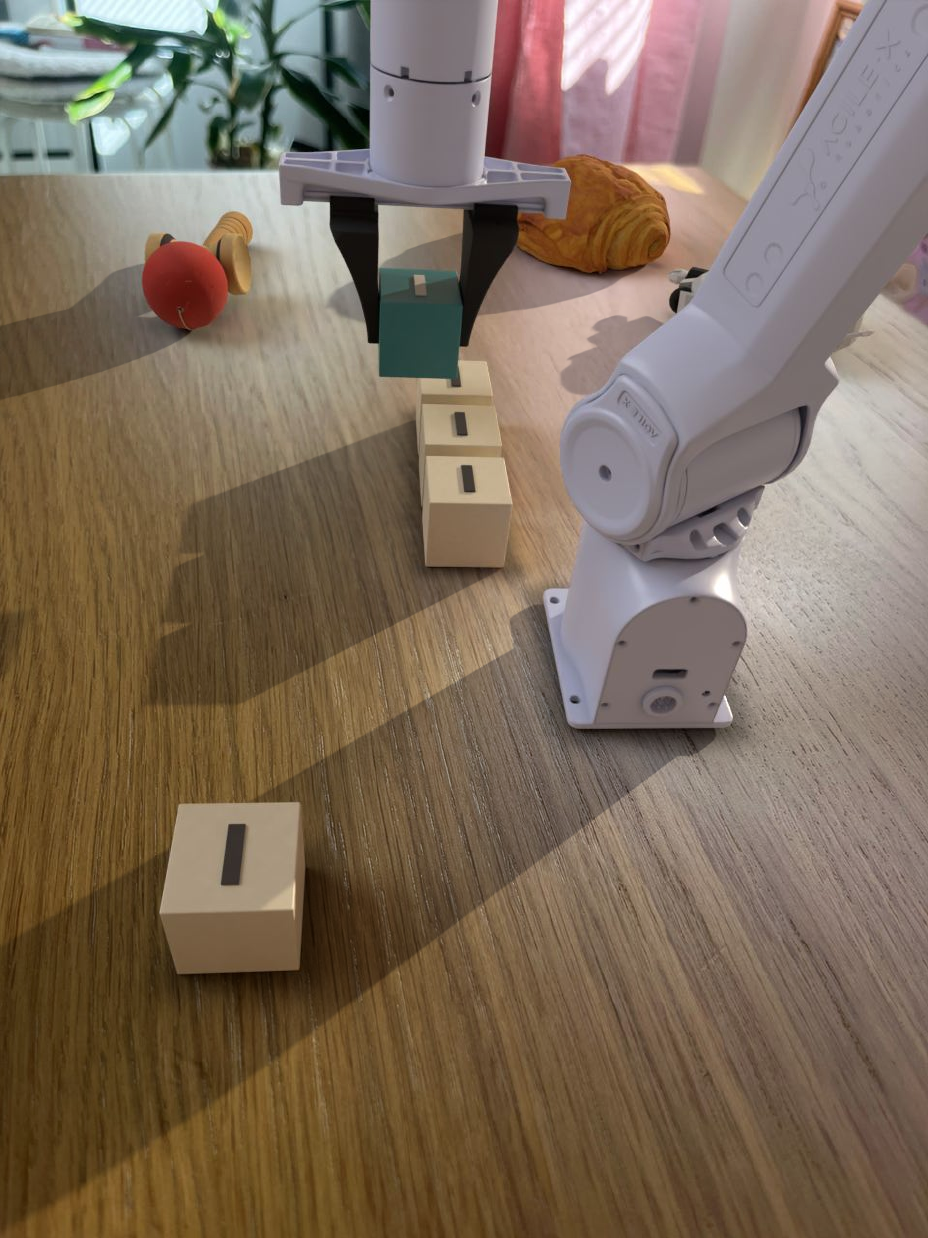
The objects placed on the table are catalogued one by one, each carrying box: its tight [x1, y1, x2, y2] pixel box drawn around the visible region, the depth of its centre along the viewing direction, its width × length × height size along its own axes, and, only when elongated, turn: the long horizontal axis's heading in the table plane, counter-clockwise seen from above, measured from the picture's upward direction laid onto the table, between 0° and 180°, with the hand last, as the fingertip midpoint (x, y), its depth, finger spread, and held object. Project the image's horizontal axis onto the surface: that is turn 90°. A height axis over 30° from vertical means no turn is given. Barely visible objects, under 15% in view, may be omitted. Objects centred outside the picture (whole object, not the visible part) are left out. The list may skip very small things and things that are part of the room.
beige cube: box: [421, 456, 513, 568], centre depth 52 cm, size 4×4×4 cm
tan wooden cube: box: [418, 404, 503, 508], centre depth 56 cm, size 4×4×4 cm
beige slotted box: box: [159, 801, 306, 975], centre depth 34 cm, size 4×4×4 cm
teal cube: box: [377, 267, 463, 379], centre depth 52 cm, size 4×4×4 cm
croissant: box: [515, 153, 672, 274], centre depth 85 cm, size 14×16×8 cm
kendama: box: [141, 210, 254, 331], centre depth 72 cm, size 8×6×18 cm
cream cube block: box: [415, 359, 494, 456], centre depth 60 cm, size 4×4×4 cm
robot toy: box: [668, 266, 876, 353], centre depth 74 cm, size 12×4×15 cm
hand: (418, 336), depth 53 cm, fingers closed on teal cube, 4 cm apart
